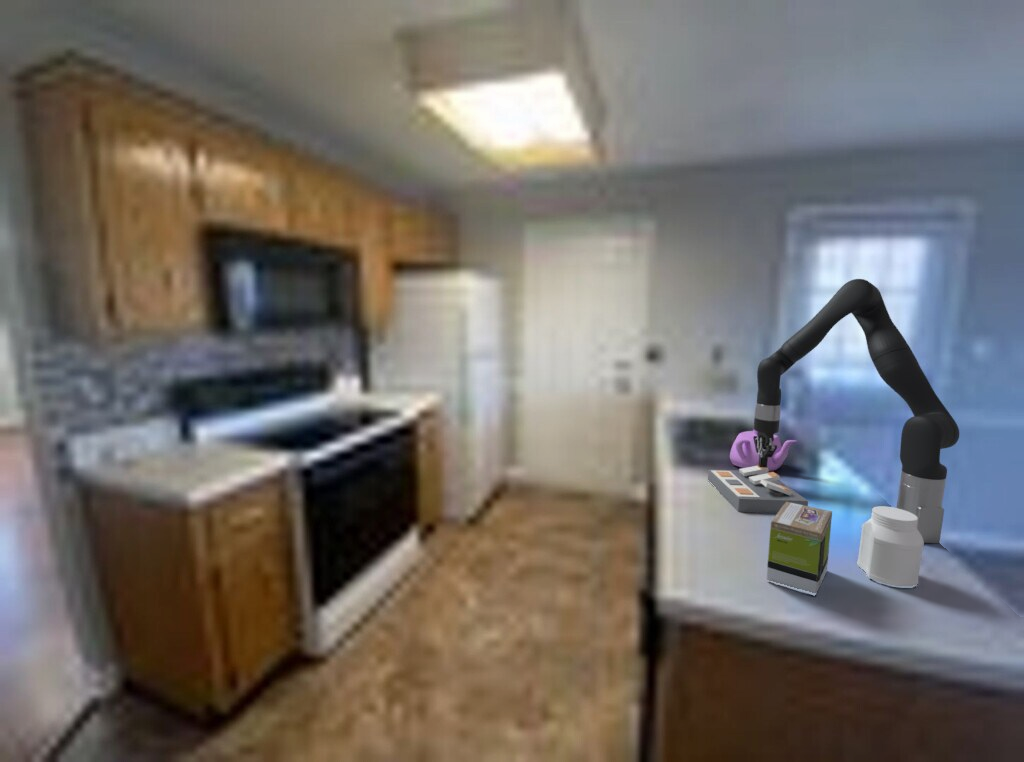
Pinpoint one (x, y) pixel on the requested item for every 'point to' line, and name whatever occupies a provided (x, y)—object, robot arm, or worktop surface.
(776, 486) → the rocker
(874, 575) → the jar
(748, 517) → the worktop surface
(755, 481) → the rocker
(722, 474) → the switch panel
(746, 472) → the rocker
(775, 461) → the teapot
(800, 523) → the tea box
